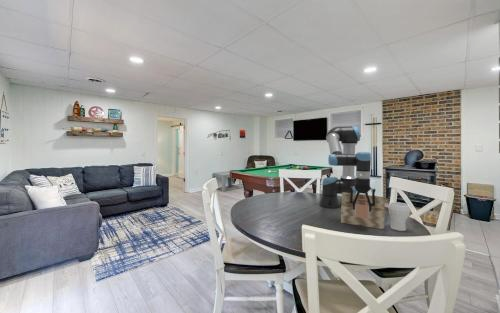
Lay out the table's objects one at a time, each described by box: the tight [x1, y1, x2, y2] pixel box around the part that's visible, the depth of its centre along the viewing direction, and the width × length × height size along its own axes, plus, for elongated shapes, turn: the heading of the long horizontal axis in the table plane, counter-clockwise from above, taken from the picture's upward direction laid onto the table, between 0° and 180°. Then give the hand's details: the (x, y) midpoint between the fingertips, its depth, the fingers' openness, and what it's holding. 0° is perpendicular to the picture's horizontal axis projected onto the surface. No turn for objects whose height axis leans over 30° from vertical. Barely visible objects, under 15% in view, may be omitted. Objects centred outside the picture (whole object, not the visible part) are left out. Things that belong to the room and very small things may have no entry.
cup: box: [387, 201, 411, 232], centre depth 129 cm, size 11×11×15 cm
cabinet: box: [356, 198, 368, 219], centre depth 130 cm, size 6×10×9 cm, turn 152°
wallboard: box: [340, 192, 386, 230], centre depth 136 cm, size 24×5×19 cm, turn 62°
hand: (361, 215), depth 129 cm, fingers closed on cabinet, 6 cm apart
